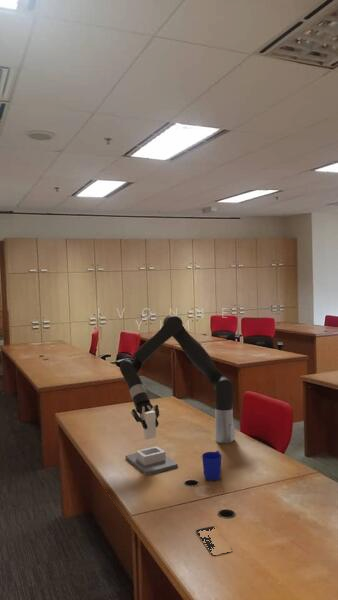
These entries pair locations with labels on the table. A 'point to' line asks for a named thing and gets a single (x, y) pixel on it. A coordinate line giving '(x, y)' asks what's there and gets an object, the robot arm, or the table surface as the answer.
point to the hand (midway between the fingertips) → (151, 427)
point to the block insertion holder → (151, 460)
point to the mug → (212, 465)
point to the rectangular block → (150, 424)
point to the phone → (207, 538)
